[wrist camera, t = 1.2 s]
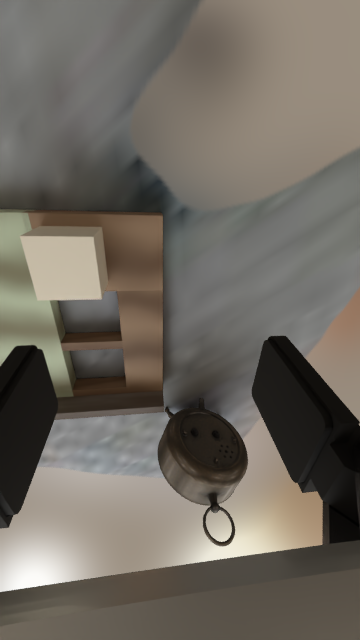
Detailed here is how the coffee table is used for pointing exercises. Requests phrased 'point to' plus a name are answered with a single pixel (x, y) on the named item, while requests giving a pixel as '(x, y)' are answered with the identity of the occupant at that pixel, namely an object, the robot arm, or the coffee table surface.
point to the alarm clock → (202, 459)
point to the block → (66, 262)
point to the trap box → (49, 334)
